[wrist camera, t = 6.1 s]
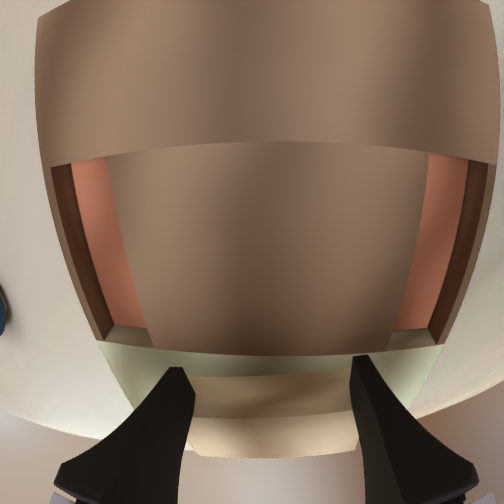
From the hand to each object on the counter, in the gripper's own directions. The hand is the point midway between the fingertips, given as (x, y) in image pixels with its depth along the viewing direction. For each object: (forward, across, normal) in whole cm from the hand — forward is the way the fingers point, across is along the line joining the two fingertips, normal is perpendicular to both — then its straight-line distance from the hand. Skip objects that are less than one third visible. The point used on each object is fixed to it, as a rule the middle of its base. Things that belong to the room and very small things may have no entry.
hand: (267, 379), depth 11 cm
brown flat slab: (+3, 0, -4) cm, 5 cm away
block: (+1, 0, +4) cm, 4 cm away
